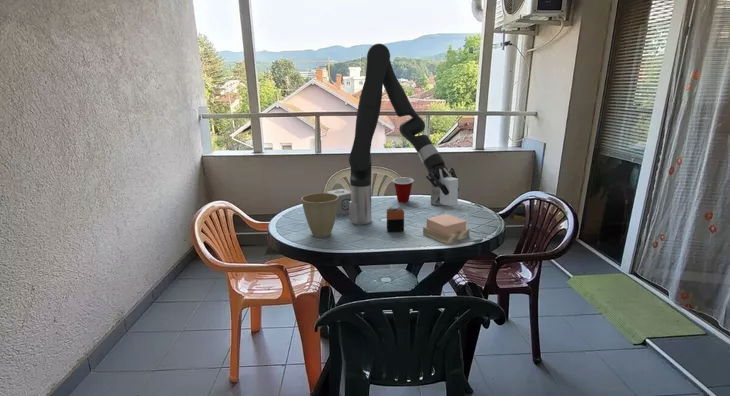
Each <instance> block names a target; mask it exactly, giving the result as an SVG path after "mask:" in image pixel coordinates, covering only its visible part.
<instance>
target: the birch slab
mask: <svg viewBox="0 0 730 396" xmlns="http://www.w3.org/2000/svg"><path fill="white" fill-rule="evenodd" d="M422 235H424V236H427V237H429V238H432V239H434V240H436V241H439V242H441V243H443V244H446V245H447V244H448V245H449V244H451V243H455V242H457V241H459V240H462V239H465V238H468V237H470V229H469V228H467V227H466V229H465V230H462V231H458V232H454V233H451V234H447V235H444V234H442V233H440V232H437V231H435V230H433V229H431V228H428V227H427V225H426V226H423V227H422Z"/></svg>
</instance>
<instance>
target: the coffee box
mask: <svg viewBox="0 0 730 396" xmlns="http://www.w3.org/2000/svg"><path fill="white" fill-rule="evenodd" d="M434 182H435V181H434ZM430 183H431V182H430ZM435 183H436V182H435ZM431 204H433V205H434V206H435V205H437V206H443V205H444V204H442V203H440V188H439V187H434V186H433V184H432V183H431V185H430V205H431Z"/></svg>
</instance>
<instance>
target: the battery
mask: <svg viewBox="0 0 730 396" xmlns="http://www.w3.org/2000/svg"><path fill="white" fill-rule="evenodd" d="M386 230H387V232H388V233H401V232H404V231H405V211H404V209H403V208H402V207H400V206H399V207H397V208H396V207H393V206H390V207H389V208H387V209H386Z"/></svg>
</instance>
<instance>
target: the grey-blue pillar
mask: <svg viewBox="0 0 730 396" xmlns="http://www.w3.org/2000/svg"><path fill="white" fill-rule="evenodd" d="M442 180H443V182H444V185H445V186H446V187H447V189H448V191H449V194H448V195H445V194H444V193H443V192H442V190H441V189H440V203H442V204H443V205H445V206H452V205H456V204H457V205H458V198H459V197H458V194H459V191H458V188H459V178H458V177H457V178H453V177H445V178H443V179H442Z"/></svg>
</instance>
